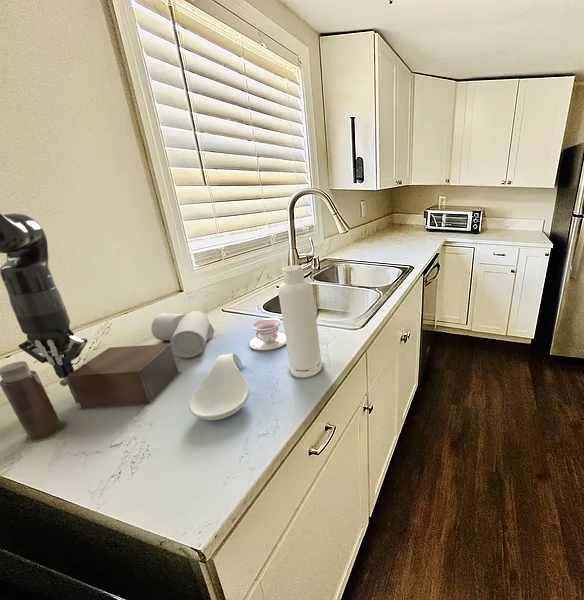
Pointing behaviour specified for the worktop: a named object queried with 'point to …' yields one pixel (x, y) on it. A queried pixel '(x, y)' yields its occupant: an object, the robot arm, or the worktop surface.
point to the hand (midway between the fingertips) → (66, 376)
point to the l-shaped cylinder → (183, 332)
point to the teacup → (267, 335)
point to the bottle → (299, 322)
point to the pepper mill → (29, 400)
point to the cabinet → (124, 376)
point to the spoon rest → (221, 390)
